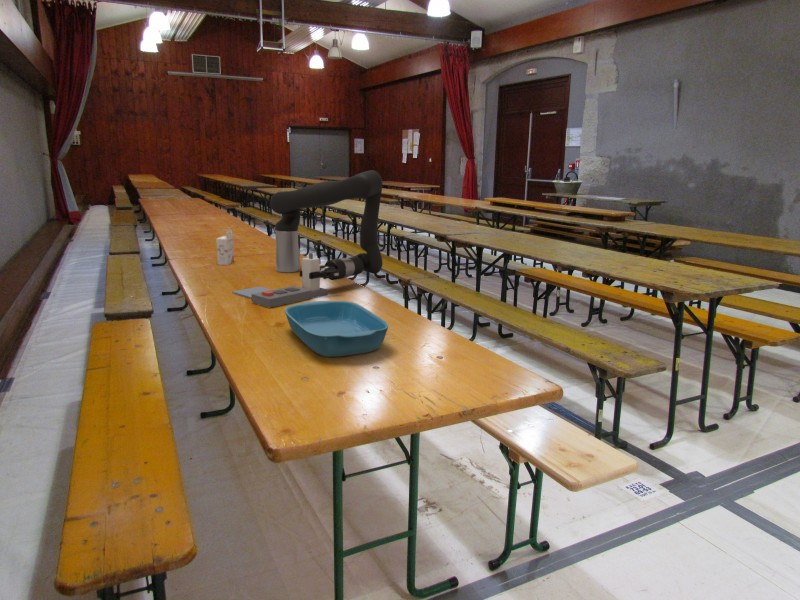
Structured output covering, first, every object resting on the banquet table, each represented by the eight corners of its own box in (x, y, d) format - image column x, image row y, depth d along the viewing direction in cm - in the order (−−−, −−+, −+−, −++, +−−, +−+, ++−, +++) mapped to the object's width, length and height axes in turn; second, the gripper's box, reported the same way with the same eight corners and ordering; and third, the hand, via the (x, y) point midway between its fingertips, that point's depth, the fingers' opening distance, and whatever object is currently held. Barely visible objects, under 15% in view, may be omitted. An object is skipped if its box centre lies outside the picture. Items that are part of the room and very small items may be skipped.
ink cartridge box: (223, 261, 256) (221, 229, 252) (234, 261, 256) (233, 229, 252) (217, 265, 248) (215, 231, 244) (228, 265, 248) (226, 232, 244)
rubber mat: (260, 288, 209) (259, 286, 209) (281, 293, 202) (280, 292, 202) (232, 293, 200) (232, 291, 200) (253, 299, 193) (253, 297, 192)
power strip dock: (310, 290, 208) (310, 279, 207) (328, 294, 202) (328, 284, 201) (251, 302, 188) (251, 291, 187) (269, 308, 183) (269, 296, 182)
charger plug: (311, 292, 205) (311, 251, 201) (319, 294, 202) (319, 253, 199) (302, 294, 202) (301, 252, 198) (310, 296, 199) (310, 254, 195)
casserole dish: (276, 325, 166) (276, 302, 164) (347, 318, 175) (348, 296, 174) (316, 368, 134) (316, 339, 132) (401, 356, 144) (402, 330, 142)
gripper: (326, 256, 214) (291, 261, 202) (353, 261, 206) (319, 267, 193) (326, 275, 216) (291, 282, 203) (353, 281, 208) (319, 288, 195)
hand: (305, 274), depth 198 cm, fingers closed on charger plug, 4 cm apart
